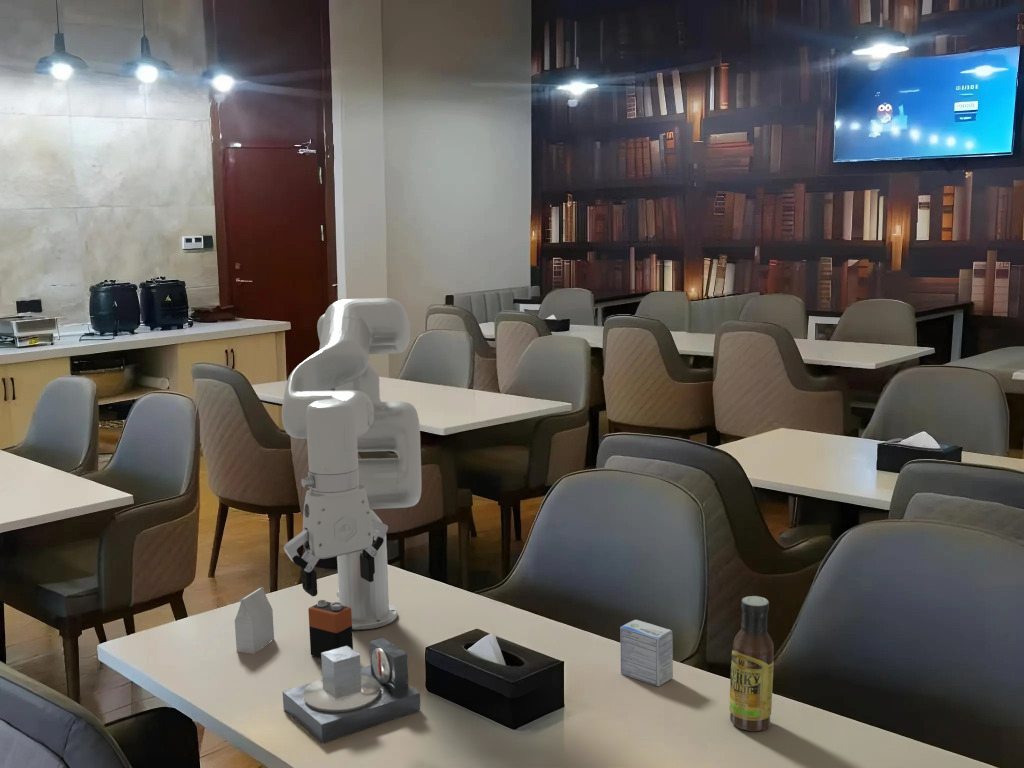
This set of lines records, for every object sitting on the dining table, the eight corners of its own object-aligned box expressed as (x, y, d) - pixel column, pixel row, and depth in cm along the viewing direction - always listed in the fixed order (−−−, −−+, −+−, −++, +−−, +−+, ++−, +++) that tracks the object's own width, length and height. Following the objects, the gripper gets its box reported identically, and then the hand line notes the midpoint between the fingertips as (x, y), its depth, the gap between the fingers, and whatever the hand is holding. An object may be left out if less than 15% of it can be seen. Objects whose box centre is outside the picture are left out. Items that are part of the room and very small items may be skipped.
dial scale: (283, 709, 170) (280, 657, 168) (377, 680, 179) (375, 631, 178) (322, 743, 158) (319, 688, 157) (420, 710, 168) (418, 658, 167)
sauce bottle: (721, 723, 162) (722, 599, 159) (744, 710, 166) (747, 588, 163) (756, 738, 157) (759, 610, 154) (780, 724, 162) (783, 599, 158)
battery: (338, 664, 186) (335, 609, 184) (309, 656, 190) (306, 602, 188) (354, 655, 190) (352, 601, 188) (326, 647, 193) (323, 595, 192)
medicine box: (673, 679, 178) (673, 630, 176) (658, 688, 174) (658, 638, 173) (635, 666, 183) (635, 618, 182) (619, 674, 180) (619, 626, 178)
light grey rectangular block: (323, 688, 168) (321, 652, 167) (348, 681, 170) (347, 645, 170) (335, 698, 164) (333, 662, 163) (361, 691, 167) (359, 654, 166)
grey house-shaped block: (274, 639, 198) (271, 588, 196) (254, 653, 191) (251, 600, 190) (257, 637, 199) (253, 586, 197) (236, 651, 192) (233, 598, 191)
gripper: (292, 495, 155) (298, 606, 158) (395, 475, 165) (399, 580, 168) (271, 484, 161) (277, 592, 164) (372, 466, 171) (377, 568, 174)
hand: (339, 586), depth 166 cm, fingers open, 9 cm apart
